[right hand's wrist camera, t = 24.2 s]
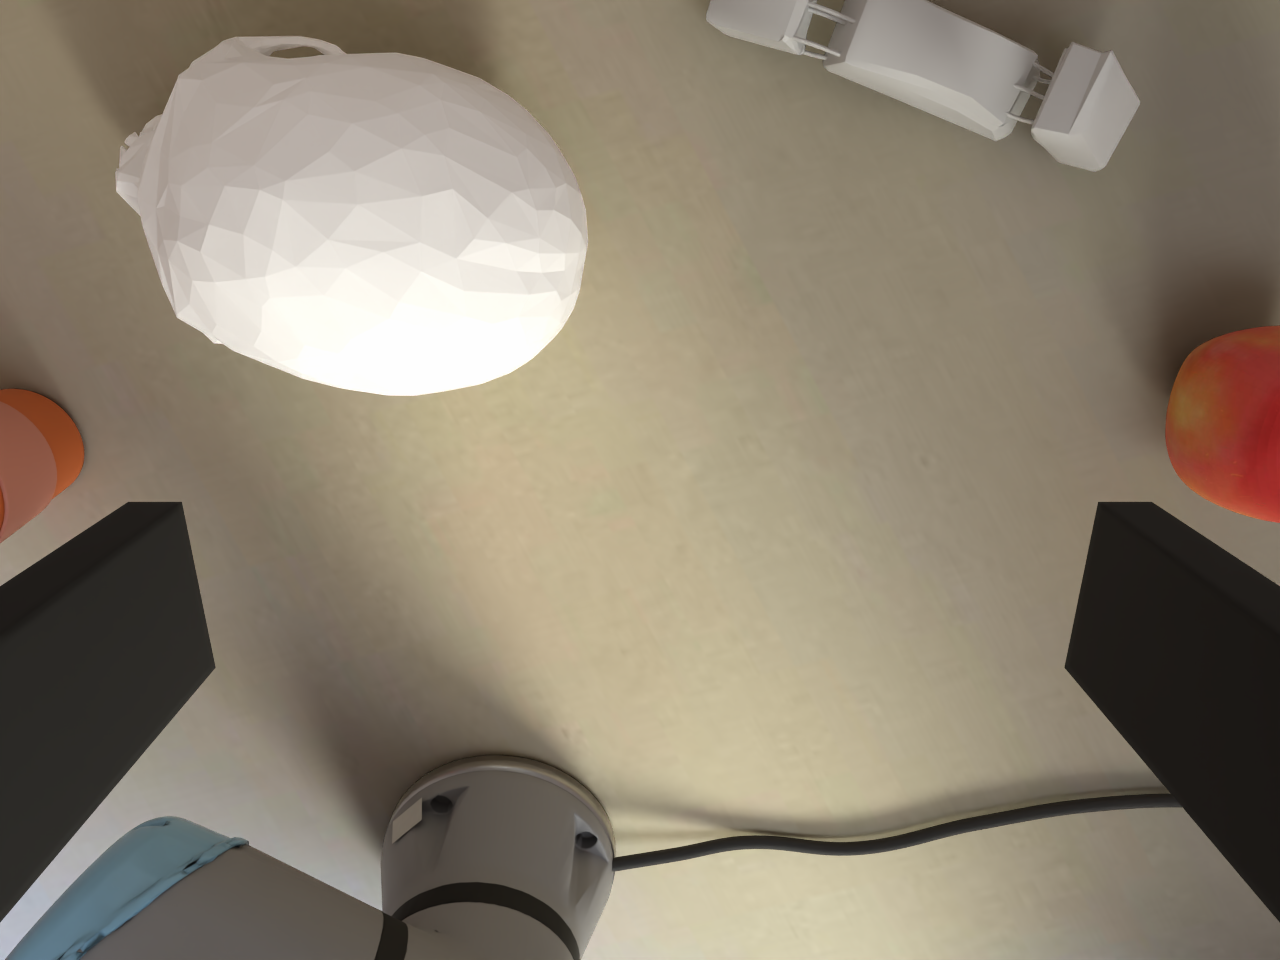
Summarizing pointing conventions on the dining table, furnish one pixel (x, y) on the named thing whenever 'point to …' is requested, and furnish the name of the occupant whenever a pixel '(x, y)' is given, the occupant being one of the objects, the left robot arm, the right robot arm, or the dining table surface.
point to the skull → (357, 216)
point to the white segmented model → (953, 69)
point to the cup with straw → (34, 456)
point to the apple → (1230, 422)
